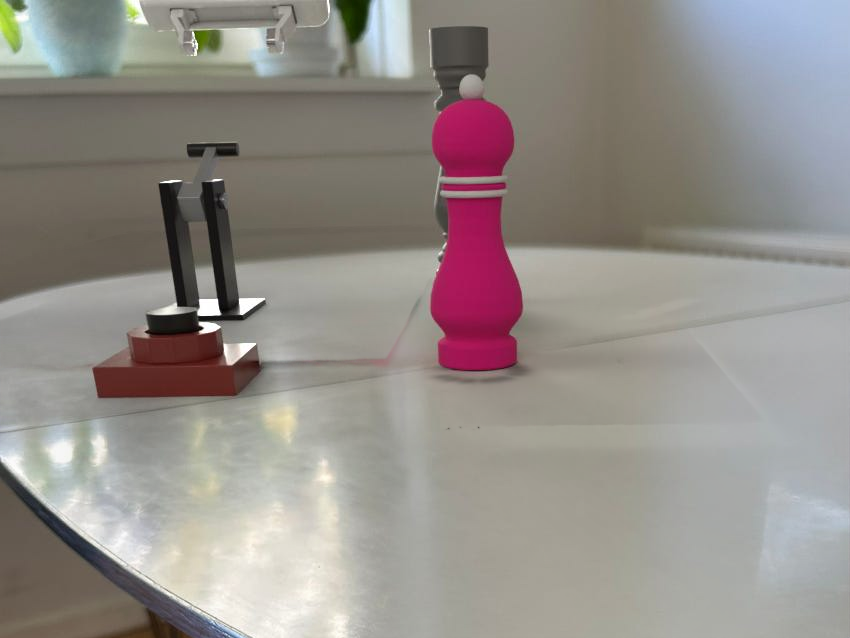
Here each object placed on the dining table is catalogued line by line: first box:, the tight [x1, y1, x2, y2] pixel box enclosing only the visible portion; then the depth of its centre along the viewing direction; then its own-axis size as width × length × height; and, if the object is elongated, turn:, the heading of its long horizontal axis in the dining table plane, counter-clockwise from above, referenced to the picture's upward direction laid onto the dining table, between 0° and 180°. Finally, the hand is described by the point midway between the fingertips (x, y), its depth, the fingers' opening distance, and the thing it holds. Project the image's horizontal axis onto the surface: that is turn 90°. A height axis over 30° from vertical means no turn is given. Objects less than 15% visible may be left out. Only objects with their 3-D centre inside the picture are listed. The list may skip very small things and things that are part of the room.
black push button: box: [145, 306, 200, 335], centre depth 73 cm, size 4×4×2 cm
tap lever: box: [177, 141, 240, 223], centre depth 97 cm, size 12×5×2 cm, turn 178°
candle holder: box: [428, 25, 490, 276], centre depth 100 cm, size 6×6×25 cm
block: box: [91, 321, 261, 399], centre depth 74 cm, size 10×8×4 cm
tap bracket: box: [157, 178, 267, 322], centre depth 96 cm, size 10×9×13 cm
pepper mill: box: [429, 74, 524, 371], centre depth 75 cm, size 7×7×20 cm
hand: (230, 49), depth 106 cm, fingers open, 8 cm apart
